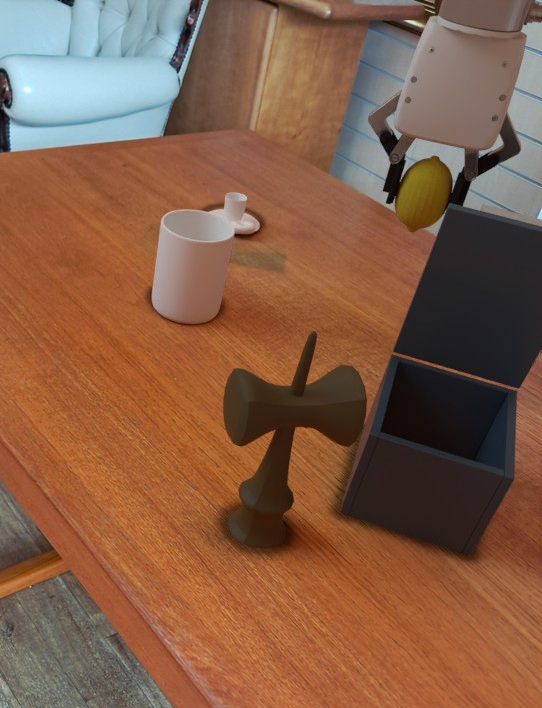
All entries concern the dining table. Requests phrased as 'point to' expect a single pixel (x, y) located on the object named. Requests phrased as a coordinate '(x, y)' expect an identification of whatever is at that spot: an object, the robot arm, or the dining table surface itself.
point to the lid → (479, 296)
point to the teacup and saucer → (237, 214)
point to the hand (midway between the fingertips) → (419, 205)
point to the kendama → (285, 435)
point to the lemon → (423, 193)
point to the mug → (191, 265)
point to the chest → (434, 455)
